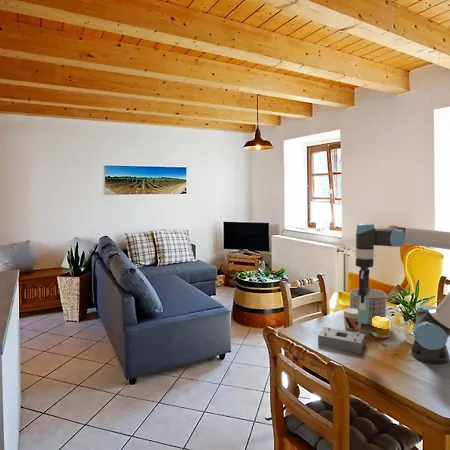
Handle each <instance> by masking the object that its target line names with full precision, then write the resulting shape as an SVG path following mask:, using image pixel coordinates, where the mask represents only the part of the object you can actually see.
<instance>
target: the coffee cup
mask: <svg viewBox="0 0 450 450" xmlns="http://www.w3.org/2000/svg"><path fill="white" fill-rule="evenodd" d="M343 319H344V324H343V325H344V331H350V332H355V333H357V332H359V333H361V327H362V325H361V323H358V309H355V308H350V307H347V308H345V309H344V310H343Z"/></svg>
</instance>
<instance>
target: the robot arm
mask: <svg viewBox="0 0 450 450" xmlns="http://www.w3.org/2000/svg"><path fill="white" fill-rule="evenodd" d="M404 245H412V246H420V247H427V248H435V249H443V250H450V231H442V230H431V229H425V228H424V229H421V228H414V227H403V226H402V227H400V226H398V225H390V226H388V227H386V228H375V224H373V223H358V224H356V233H355V249H354V252H355V256H356V258H355V266H356V267H359V268H360V270H359V271H358V288H359V294H358V295H360V304H359V309H361V310H366V288H370V287H369V286H370V285H369V282H370V269H369V268H373V267H374V261H375V260H374V257H375V246H379V247H394V248H397V247H399V248H402V247H404ZM415 313H416V318H415V319H416V320H415V326H414V330H413V335H414V338H415V339H414V341H413V343H412V346H411V348H410V354H411V356H413V358H415V359H417V360H420V361H421V362H424V363H429V364H435V365H443V364H446V363H449V361H450V353H449V351H448V350H449V349H448V347H447V343H448V338H449V337H450V291H449V292H448V293H447V294H446V295H445V296H444V297H443V299H442V300H441V301H440V302H439V303H438V305H436V306H431V305H419V306H417V307H416V311H415Z"/></svg>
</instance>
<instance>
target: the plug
mask: <svg viewBox="0 0 450 450" xmlns="http://www.w3.org/2000/svg"><path fill="white" fill-rule="evenodd" d="M357 288H358V289H357ZM357 288H356V289H357V293H358V294H359V287H357ZM370 289H371V288H370V287H369V288H366V310H361V309H359V304H360V295H358V323H364V324H367V323H368V320H369V293H370Z"/></svg>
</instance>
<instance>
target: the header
mask: <svg viewBox="0 0 450 450" xmlns="http://www.w3.org/2000/svg"><path fill="white" fill-rule="evenodd" d="M365 341H366V334H365V333H361V332H360V333H359V332H357V333H355V332H350V331H345V329H344V330H343V329H336V328H333V327H330V326H328V327H327V326H324V327H323V328H322V330H321V331H320V332H319V333H318V336H317V345H318V346H321V347H322V346H323V347H326V348H333V349H337V350H341V351H347V352H351V353H356V354H361V353H362V351H363V348H364V347H365V344H366V343H365Z"/></svg>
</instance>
